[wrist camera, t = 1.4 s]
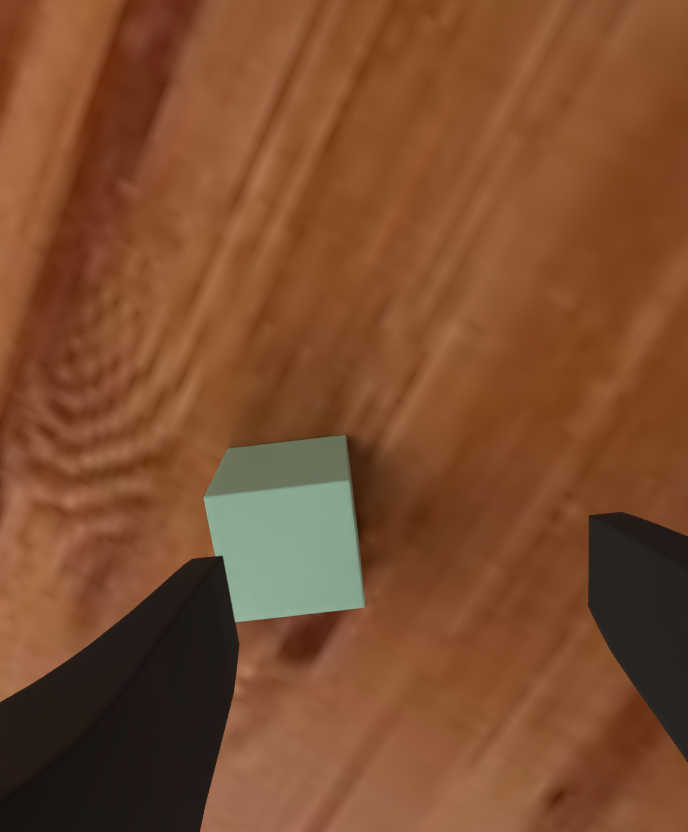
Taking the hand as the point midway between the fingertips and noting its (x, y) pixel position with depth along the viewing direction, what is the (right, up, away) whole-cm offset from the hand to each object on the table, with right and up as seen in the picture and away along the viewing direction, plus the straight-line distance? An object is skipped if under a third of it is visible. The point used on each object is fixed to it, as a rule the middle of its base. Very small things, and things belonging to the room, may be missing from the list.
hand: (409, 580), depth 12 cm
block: (-3, 0, +9) cm, 9 cm away
